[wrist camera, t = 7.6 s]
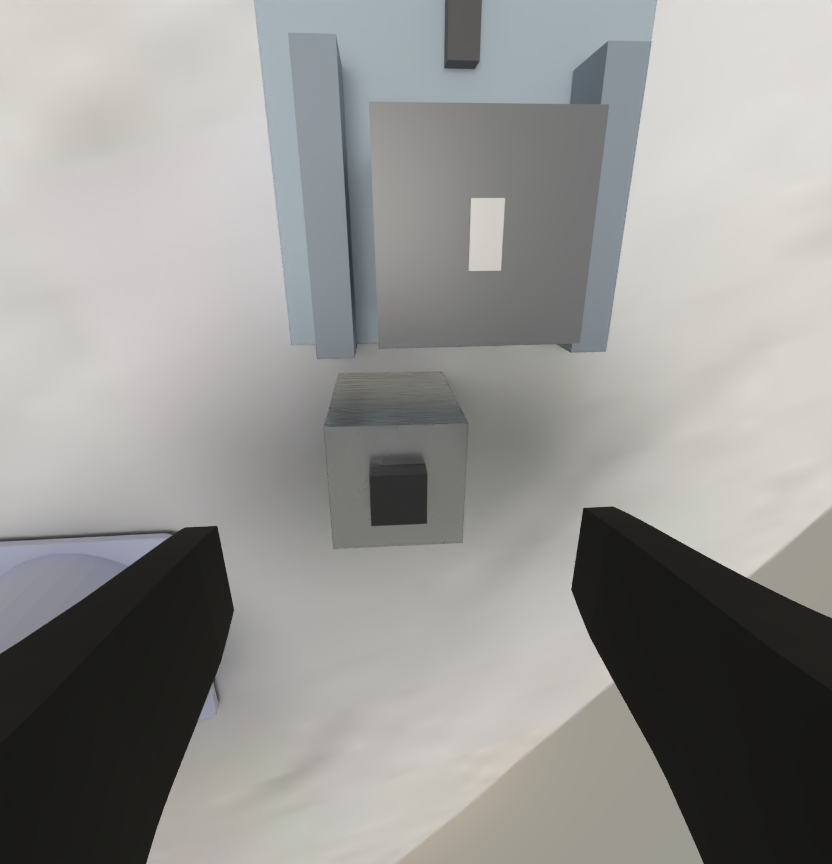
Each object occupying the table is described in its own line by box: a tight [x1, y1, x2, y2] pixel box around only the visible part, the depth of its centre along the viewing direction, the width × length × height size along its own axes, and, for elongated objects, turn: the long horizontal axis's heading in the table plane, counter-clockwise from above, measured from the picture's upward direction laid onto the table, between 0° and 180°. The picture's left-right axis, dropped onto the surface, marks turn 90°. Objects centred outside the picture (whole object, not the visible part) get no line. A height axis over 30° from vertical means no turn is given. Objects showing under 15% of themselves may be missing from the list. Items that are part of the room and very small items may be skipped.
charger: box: [369, 102, 609, 349], centre depth 11 cm, size 4×4×6 cm
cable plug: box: [324, 372, 468, 549], centre depth 14 cm, size 4×4×6 cm
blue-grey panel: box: [254, 0, 657, 359], centre depth 11 cm, size 14×12×3 cm
